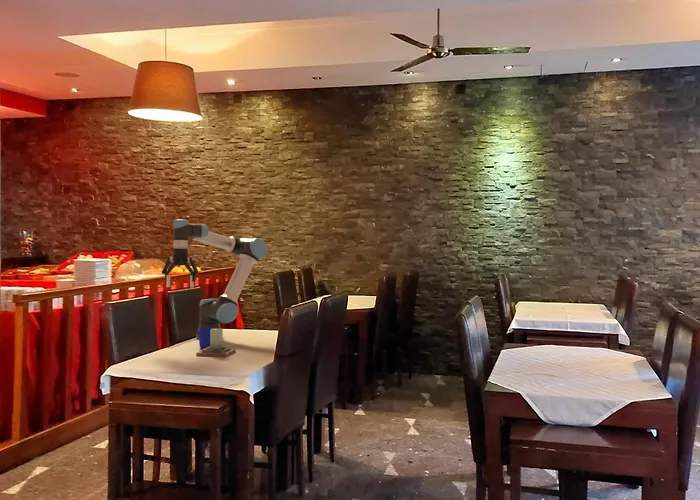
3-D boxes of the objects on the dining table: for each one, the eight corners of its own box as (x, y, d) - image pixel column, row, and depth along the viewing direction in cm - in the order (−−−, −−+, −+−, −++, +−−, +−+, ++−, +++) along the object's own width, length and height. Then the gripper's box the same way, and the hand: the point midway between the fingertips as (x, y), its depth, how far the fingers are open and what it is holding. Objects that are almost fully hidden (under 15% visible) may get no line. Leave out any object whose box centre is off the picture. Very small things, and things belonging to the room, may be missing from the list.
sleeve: (213, 349, 311) (213, 328, 311) (224, 350, 310) (224, 328, 310) (208, 351, 305) (208, 329, 305) (219, 352, 304) (220, 330, 304)
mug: (218, 345, 332) (218, 327, 332) (211, 349, 320) (211, 330, 320) (203, 345, 333) (203, 326, 333) (196, 348, 321) (196, 330, 321)
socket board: (208, 350, 316) (208, 345, 316) (235, 352, 314) (235, 346, 314) (196, 355, 301) (196, 350, 301) (225, 357, 299) (225, 351, 299)
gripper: (155, 247, 327) (155, 287, 327) (199, 248, 323) (199, 288, 323) (162, 247, 334) (161, 286, 335) (205, 248, 330) (204, 287, 331)
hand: (180, 287), depth 329 cm, fingers open, 13 cm apart
